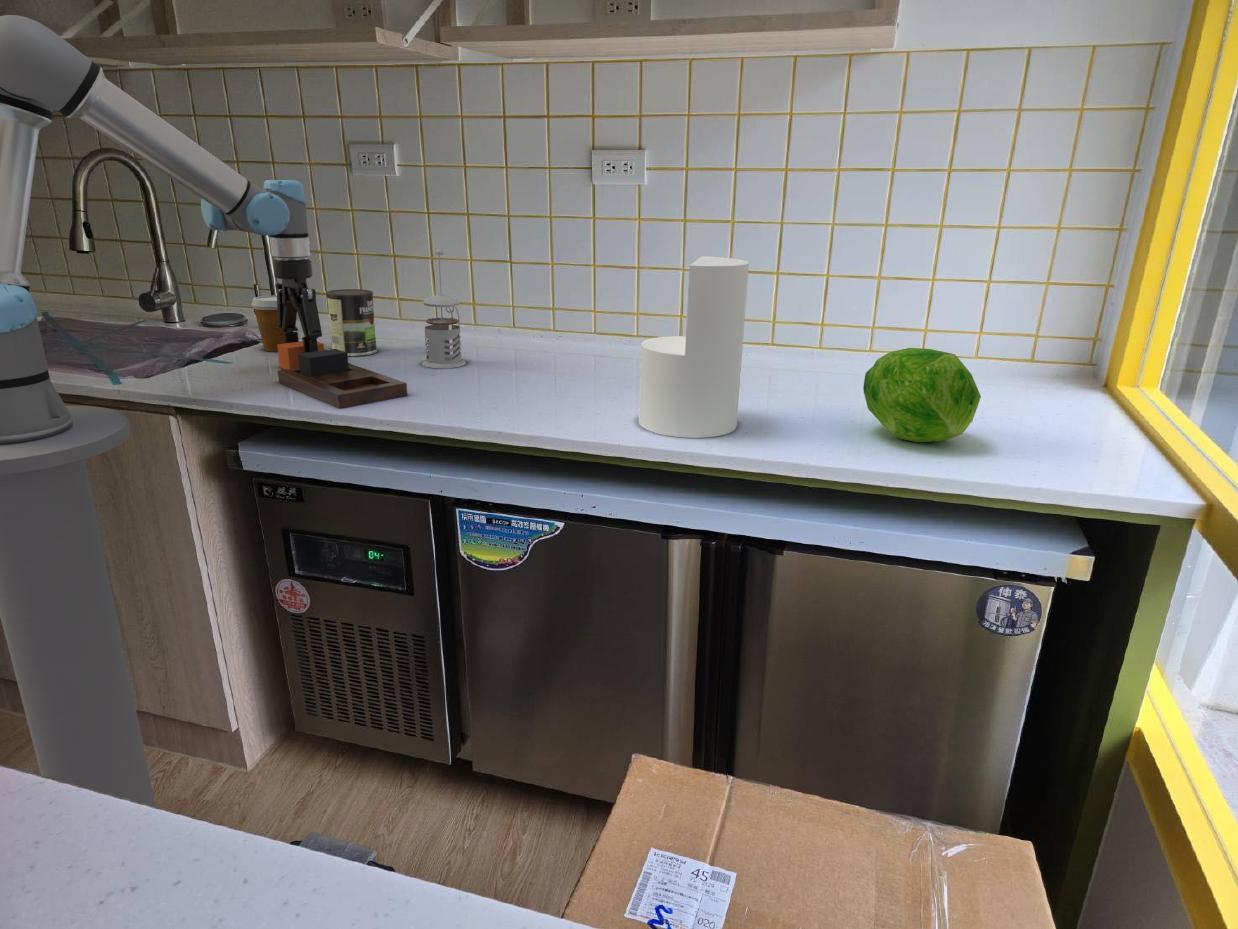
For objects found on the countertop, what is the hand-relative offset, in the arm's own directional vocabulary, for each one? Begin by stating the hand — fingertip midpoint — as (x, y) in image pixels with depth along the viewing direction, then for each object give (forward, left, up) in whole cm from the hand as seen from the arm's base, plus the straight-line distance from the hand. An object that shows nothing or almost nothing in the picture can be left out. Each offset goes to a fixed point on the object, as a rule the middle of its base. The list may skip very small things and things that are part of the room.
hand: (303, 365), depth 178 cm
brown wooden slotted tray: (-3, -23, 0) cm, 23 cm away
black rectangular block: (-3, -16, +1) cm, 16 cm away
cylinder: (+31, -83, 0) cm, 89 cm away
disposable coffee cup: (+4, +21, 0) cm, 21 cm away
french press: (+26, -16, 0) cm, 30 cm away
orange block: (0, 0, 0) cm, 0 cm away
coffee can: (+16, +7, 0) cm, 17 cm away
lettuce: (+54, -114, 0) cm, 126 cm away
